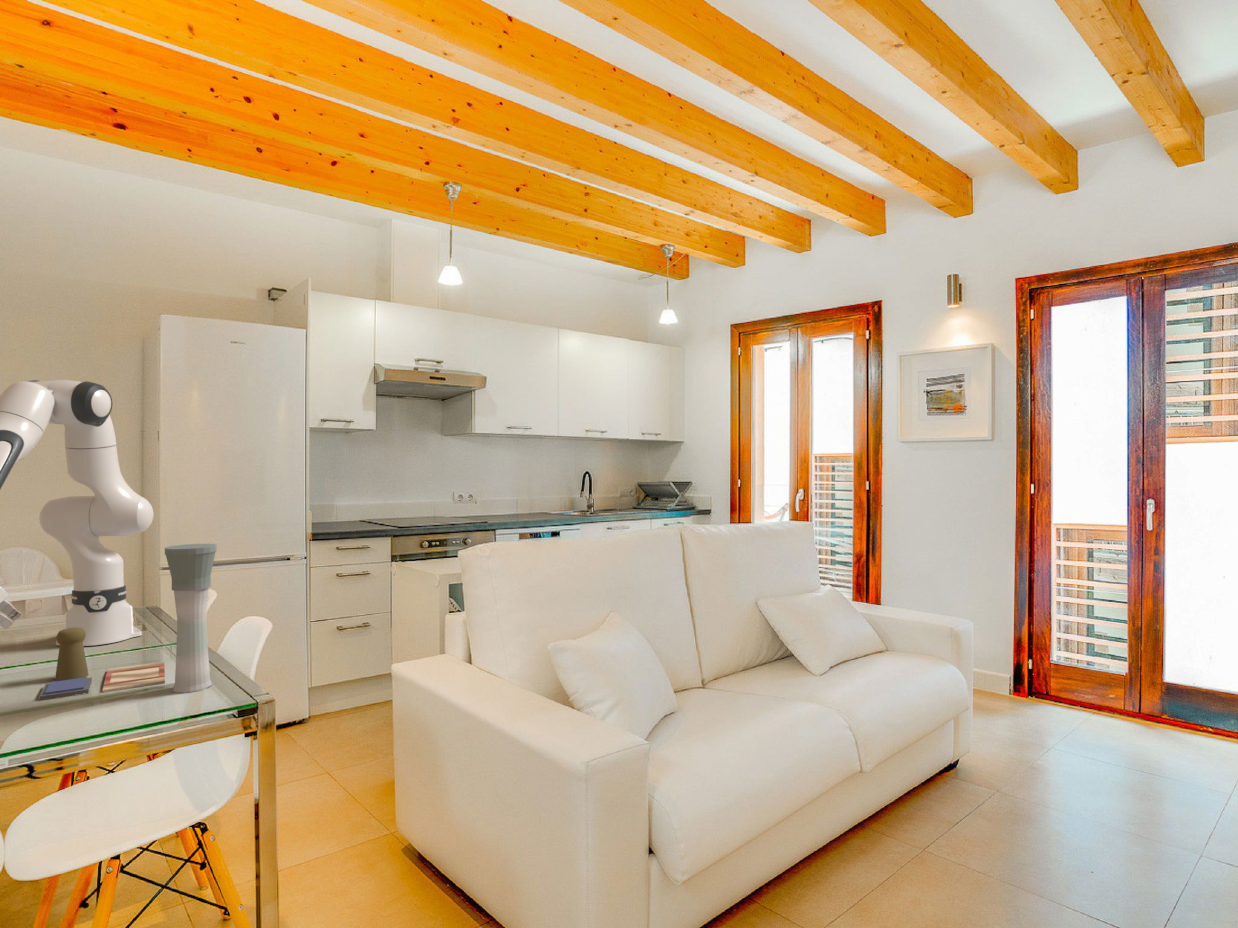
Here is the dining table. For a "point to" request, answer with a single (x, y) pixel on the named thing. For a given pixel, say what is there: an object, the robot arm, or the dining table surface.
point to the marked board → (134, 676)
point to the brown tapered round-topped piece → (71, 654)
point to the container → (191, 613)
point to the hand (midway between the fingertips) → (15, 621)
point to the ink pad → (65, 688)
